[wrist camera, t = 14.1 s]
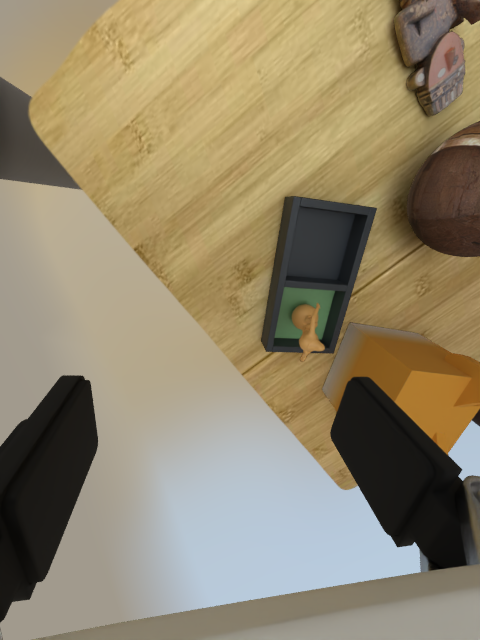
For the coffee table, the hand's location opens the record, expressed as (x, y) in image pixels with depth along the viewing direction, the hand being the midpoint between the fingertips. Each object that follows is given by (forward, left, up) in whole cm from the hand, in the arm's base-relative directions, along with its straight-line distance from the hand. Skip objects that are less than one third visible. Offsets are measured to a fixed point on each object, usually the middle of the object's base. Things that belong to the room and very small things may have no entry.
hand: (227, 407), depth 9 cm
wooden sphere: (+32, +12, -30) cm, 45 cm away
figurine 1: (+15, -7, -29) cm, 34 cm away
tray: (+16, -2, -30) cm, 34 cm away
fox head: (+35, -17, -30) cm, 49 cm away
